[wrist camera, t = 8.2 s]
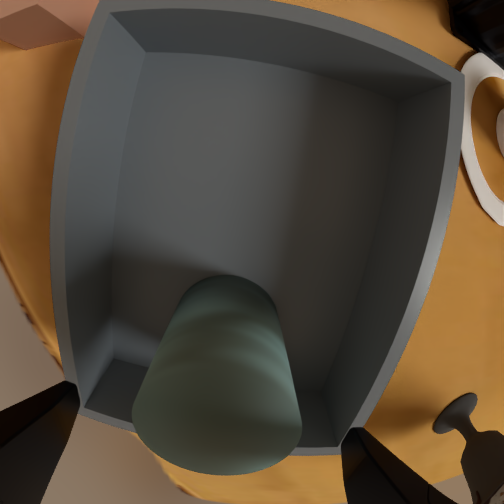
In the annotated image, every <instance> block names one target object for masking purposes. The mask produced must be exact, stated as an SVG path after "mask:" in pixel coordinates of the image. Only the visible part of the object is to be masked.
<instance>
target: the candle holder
mask: <svg viewBox="0 0 504 504" xmlns="http://www.w3.org/2000/svg"><path fill="white" fill-rule="evenodd" d="M461 73H463V74H464V75H465V102H464V121H463V133H462V143H461V152H462V156H463V160H464V163H465V167H466V170H467V173H468V176H469V179H470V181H471V184H472V186H473V188H474V191H475V193H476V195H477V197H478V200H479V202H480V204H481V206H482V208H483V209H484V210H485V211H486V212H487V213H488V214H489V215H490V216H491V217H492V218H493V219H494V220H495V221H496V223H497V224H499V225H501V226H504V202H502V201H501V200H500V199H499V198H498V197H496V195H495V194H494V193H493V192H492V190H491V189H490V188H489V186H488V184H487V182H486V181H485V179H484V176H483V174H482V172H481V169H480V167H479V164H478V160H477V157H476V153H475V149H474V144H473V138H472V130H471V105H472V99H473V95H474V92H475V90H476V88H477V86H478V84H479V83H480V82H481V81H482V80H483V79H485V78H487V77H491V76H494V77H499V78H502V79H504V70H503V69H502V68H500V67H499V66H498V65H497V64H496V63H494V62H493V61H492V60H491V59H490V58H488V57H487V56H486V55H484V54H483V53H481V52H480V53H477V54H475V55H473V56H471V57H470V58H469V59H468V60H467V61H466V63H465V64H464V66H463V68H462V70H461ZM496 133H497V140H498V144H499V147H500V150H501V153H502V155H503V157H504V109H502V110H501V111H500V112H499V115H498V117H497V123H496Z"/></svg>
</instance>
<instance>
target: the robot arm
mask: <svg viewBox="0 0 504 504" xmlns="http://www.w3.org/2000/svg"><path fill="white" fill-rule="evenodd" d="M448 4H449V13H450V22H451V30H452V32H453V33H454V35H455V36H456V37H458V38H459V39H461V40H462V41H464V42H465V43H467V44H468V45H470V46H471V47H473V48H474V49H476V50H477V51H479V52H481V53H483V54H484V55H486V56H487V57H488V58H490V59H491V60H492V61H493V62H494V63H496V64H497V65H498V66H499V67H500V68H502V69H503V70H504V0H448ZM79 408H80V397H79V393H78V388H77V386H76V384H74V383H72V382H69V381H62V382H61V383H58V384H56V385H54V386H52V387H50V388H48V389H46V390H44V391H42V392H40V393H38V394H36V395H34V396H32V397H29V398H27V399H25V400H23V401H21V402H19V403H17V404H15V405H13V406H10V407H9V408H6V409H4V410H2V411H0V504H40V503H41V501H42V498H43V496H44V494H45V491H46V489H47V486H48V484H49V482H50V479H51V477H52V475H53V473H54V470H55V468H56V466H57V464H58V461H59V459H60V457H61V455H62V453H63V451H64V449H65V446H66V444H67V442H68V439H69V436H70V434H71V431H72V428H73V425H74V422H75V419H76V416H77V414H78V411H79ZM341 457H342V468H343V480H344V487H345V492H346V497H347V502H348V504H457V503H456V502H454V501H453V500H451V499H450V498H448V497H447V496H445V495H444V494H442V493H441V492H439V491H438V490H437V489H436V488H434V487H433V486H432V485H431V484H428V482H427V481H425V480H424V479H423V478H422V477H421V476H419V475H418V474H417V473H416V472H414V471H413V470H412V469H411V468H410V467H408V466H407V465H406V464H405V463H404V462H402V461H401V460H400V459H399V458H398V457H396V456H395V455H394V454H393V453H392V452H391V451H389V450H388V449H387V448H386V447H385V446H384V445H382V444H381V443H380V442H379V441H378V440H377V439H376V438H374V437H373V436H372V435H371V434H370V433H369V432H368V431H367V430H365V429H364V428H363V427H352V428H350V429H349V431H348V432H347V434H346V436H345V437H344V439H343V441H342V443H341Z"/></svg>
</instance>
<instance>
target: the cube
mask: <svg viewBox="0 0 504 504" xmlns="http://www.w3.org/2000/svg"><path fill="white" fill-rule="evenodd" d="M98 3H99V0H0V40H3V41H5V42H8V43H10V44H13V45H15V46H17V47H20V48H22V49H24V50H28V49H32V48H36V47H40V46H44V45H49V44H53V43H58V42H63V41H69V40H75V39H81V38H84V37H85V34H86V32H87V29H88V26H89V24H90V21H91V19H92V17H93V14H94V12H95V9H96V7H97V5H98Z"/></svg>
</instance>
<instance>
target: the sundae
mask: <svg viewBox="0 0 504 504" xmlns="http://www.w3.org/2000/svg"><path fill="white" fill-rule="evenodd" d="M476 404H477V395H476V394H474V393H469V394H466V395H463V396H461V397H460V398H458V399H457V400H455V401H454V402H453V403H451V404H450V405H449V406H448V407H447V408H446V409H445V410H444V411H443V412H442V413H441V414H440V416H439V417H438V419H437V420H436V422H435V425H434V431H435V432H436V433H437V434H443V433H446V432H449V431H451V430H453V429H457V430H458V431H459V432H460V433H461V434H462V435H463V437H464V438H465V440H466V447H465V449H464V451H463V454H462V458H461V465H462V469H463V472H464V475H465V478H466V481H467V483H468V486H469V488H470V491H471V496H472V501H473V504H504V435H502V434H501V433H500V432H498V431H484V432H477V430H476V429H475V428H474V426H473V425H472V423H471V421H470V418H469V415H470V414H471V413H472V411H473V410H474V408H475V406H476Z"/></svg>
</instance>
